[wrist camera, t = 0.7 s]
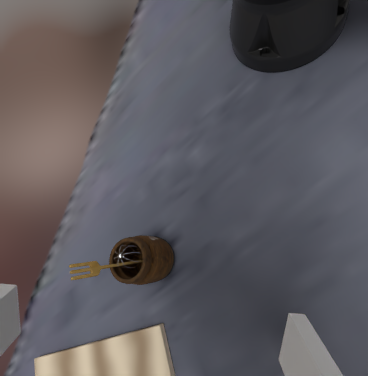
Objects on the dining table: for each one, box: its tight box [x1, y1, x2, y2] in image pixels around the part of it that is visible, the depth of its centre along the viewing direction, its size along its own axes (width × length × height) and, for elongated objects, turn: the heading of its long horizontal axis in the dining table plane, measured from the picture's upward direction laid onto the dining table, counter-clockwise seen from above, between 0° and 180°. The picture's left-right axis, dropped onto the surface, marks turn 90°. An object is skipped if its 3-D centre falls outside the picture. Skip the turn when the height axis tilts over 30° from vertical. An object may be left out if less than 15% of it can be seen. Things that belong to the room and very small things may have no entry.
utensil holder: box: [69, 236, 174, 285], centre depth 28 cm, size 6×6×12 cm
